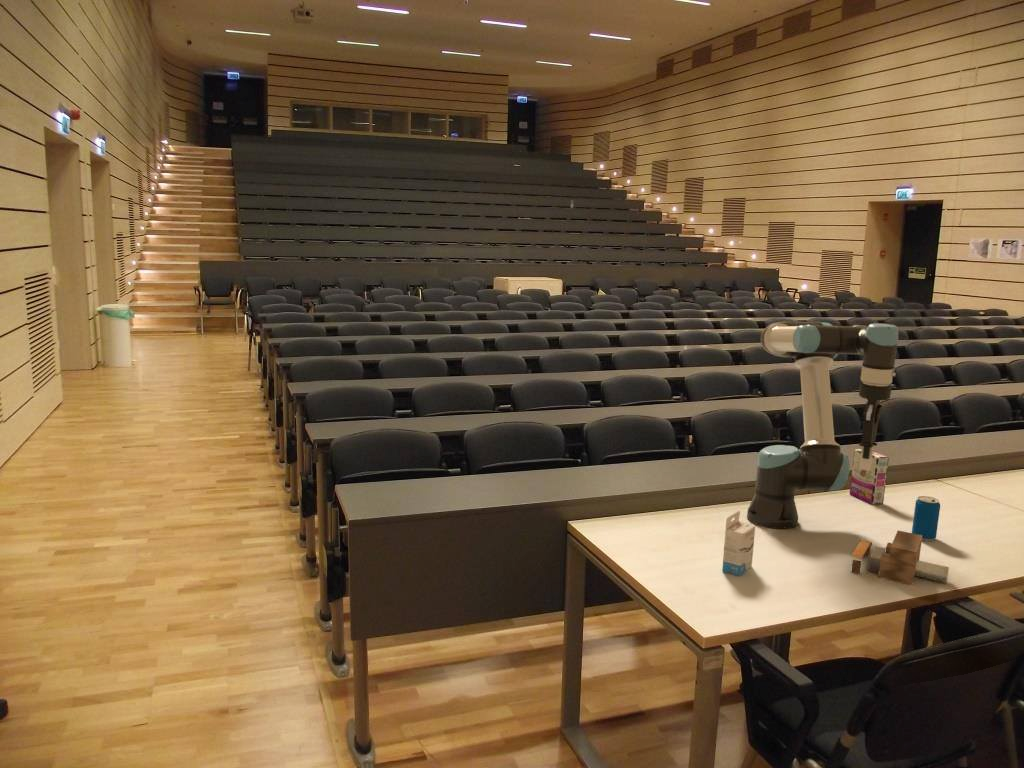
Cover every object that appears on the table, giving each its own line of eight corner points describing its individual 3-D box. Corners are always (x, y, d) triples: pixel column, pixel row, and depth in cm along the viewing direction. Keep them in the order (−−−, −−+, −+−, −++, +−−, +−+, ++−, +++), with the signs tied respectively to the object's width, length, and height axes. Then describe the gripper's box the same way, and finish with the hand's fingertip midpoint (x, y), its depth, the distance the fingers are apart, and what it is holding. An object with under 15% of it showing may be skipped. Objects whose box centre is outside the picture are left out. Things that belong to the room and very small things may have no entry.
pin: (868, 570, 206) (870, 556, 206) (873, 559, 214) (875, 545, 213) (945, 588, 197) (947, 573, 196) (947, 576, 204) (949, 561, 204)
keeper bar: (851, 556, 205) (851, 552, 205) (860, 542, 218) (860, 539, 218) (863, 559, 204) (863, 555, 204) (871, 545, 216) (872, 541, 216)
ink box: (739, 577, 201) (744, 522, 198) (721, 571, 204) (725, 518, 201) (752, 566, 207) (757, 514, 205) (734, 561, 210) (739, 509, 208)
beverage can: (938, 542, 228) (944, 503, 225) (915, 540, 229) (920, 501, 227) (931, 534, 234) (936, 496, 232) (908, 532, 235) (913, 494, 233)
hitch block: (850, 571, 206) (854, 539, 204) (860, 552, 219) (864, 522, 217) (912, 586, 198) (916, 553, 196) (918, 565, 211) (922, 533, 210)
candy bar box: (884, 504, 261) (890, 456, 258) (872, 505, 259) (877, 457, 256) (860, 493, 271) (865, 448, 268) (848, 494, 270) (853, 448, 267)
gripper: (887, 389, 196) (876, 478, 201) (895, 381, 207) (883, 465, 212) (856, 385, 200) (845, 472, 205) (864, 377, 211) (854, 460, 216)
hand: (864, 469), depth 208 cm, fingers closed
